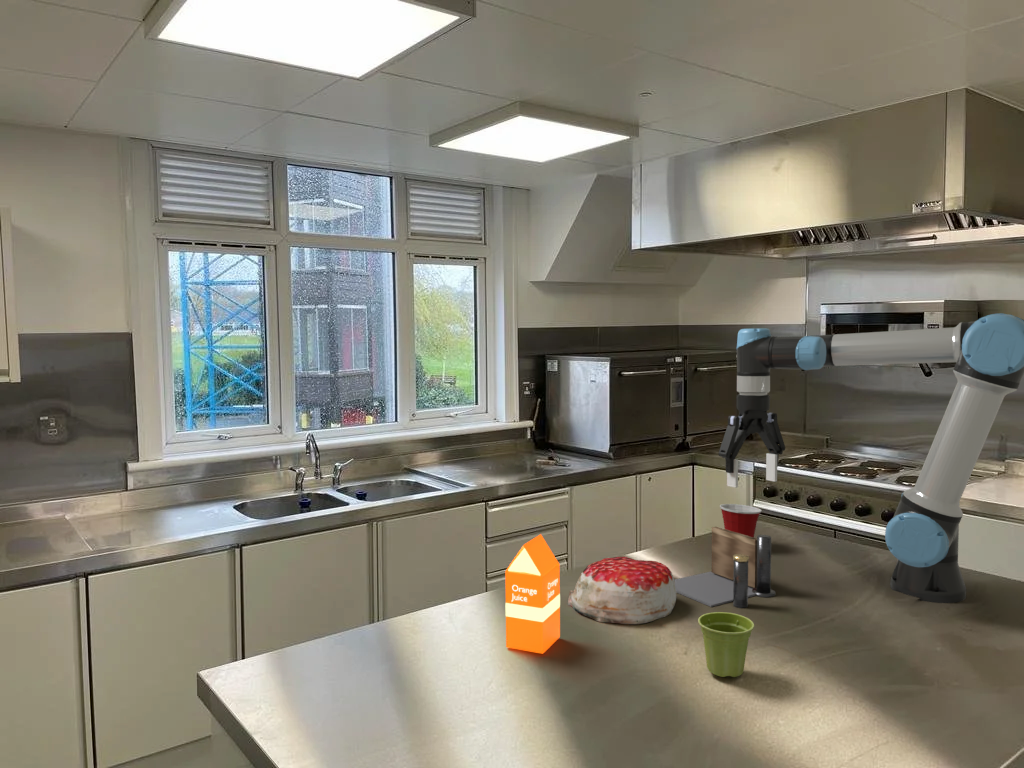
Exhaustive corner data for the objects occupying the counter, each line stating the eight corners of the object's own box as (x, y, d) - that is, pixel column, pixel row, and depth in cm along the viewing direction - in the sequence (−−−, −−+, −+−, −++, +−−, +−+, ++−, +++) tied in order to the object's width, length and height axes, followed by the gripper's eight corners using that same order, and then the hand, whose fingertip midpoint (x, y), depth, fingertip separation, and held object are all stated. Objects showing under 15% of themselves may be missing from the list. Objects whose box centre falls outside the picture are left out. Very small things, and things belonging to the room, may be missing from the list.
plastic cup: (770, 553, 204) (770, 508, 203) (736, 558, 200) (737, 512, 199) (743, 543, 214) (743, 500, 213) (710, 547, 210) (711, 504, 209)
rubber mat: (766, 592, 174) (766, 591, 174) (710, 606, 165) (710, 605, 165) (711, 572, 188) (711, 571, 188) (658, 584, 180) (658, 583, 180)
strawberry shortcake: (673, 587, 179) (674, 545, 178) (678, 627, 155) (679, 578, 154) (574, 583, 182) (573, 541, 182) (563, 621, 158) (563, 573, 158)
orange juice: (560, 636, 150) (560, 535, 149) (543, 654, 142) (542, 547, 141) (524, 630, 154) (523, 531, 152) (504, 647, 146) (503, 542, 144)
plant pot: (763, 669, 135) (764, 621, 134) (736, 688, 128) (737, 636, 127) (715, 654, 141) (715, 608, 141) (687, 671, 135) (687, 622, 134)
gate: (758, 587, 175) (759, 539, 175) (754, 588, 175) (754, 540, 174) (715, 571, 187) (715, 526, 186) (711, 572, 186) (711, 527, 186)
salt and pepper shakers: (786, 597, 171) (787, 539, 170) (740, 609, 164) (741, 548, 163) (762, 588, 177) (763, 532, 176) (717, 599, 170) (717, 541, 169)
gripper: (776, 390, 192) (776, 475, 193) (703, 395, 180) (702, 486, 181) (801, 392, 185) (800, 480, 187) (726, 397, 173) (726, 492, 175)
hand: (752, 483), depth 184 cm, fingers open, 12 cm apart
